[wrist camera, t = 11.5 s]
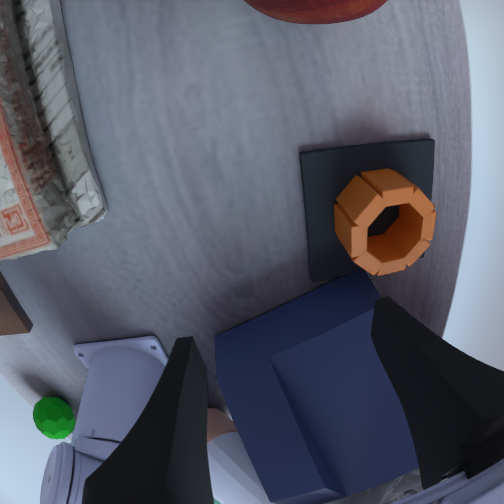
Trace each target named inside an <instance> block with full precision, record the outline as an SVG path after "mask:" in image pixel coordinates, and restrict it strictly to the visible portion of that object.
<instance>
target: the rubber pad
mask: <svg viewBox="0 0 504 504" xmlns="http://www.w3.org/2000/svg"><path fill="white" fill-rule="evenodd" d="M434 148H435V140H433V139H420V140H405V141H393V142H382V143H371V144H362V145H353V146H344V147H336V148H328V149H320V150H313V151H306V152H300V153H299V154H300V163H301V172H302V182H303V191H304V202H305V213H306V224H307V236H308V249H309V262H310V277H311V281H312V282H316V281H321V280H326V279H330V278H335V277H340V276H344V275H349V274H351V273H353V272H355V271H357V270H359V269H361V268H362V267H360V266H359V265H357V264H356V263H354V262H353V261H352V259H351V257H350V256H349V254H348V253H347V251H346V249H345V248H344V246H343V245H342V243H341V241H340V240H339V238H338V237H337V234H336V233H335V220H334V204H337V203H338V202H337V201H336V198H337V197H338V196H339V195H340V193H341V192H342V191H343V190H344V189H345V187H346V186H347V185H348V184H349V183H350V181H351V180H352V179H353V178H354V177H355V175H358V176H359V177H360V178H361V172H365V171H372V170H380V169H388V168H389V169H391V170H392V171H393V170H395V171H396V172H398V173H399V174H401V175H402V176H403V177H405V178H406V179H407V180H409V181H410V182H412V183H413V184H414V185H416V186H417V187H418V188H419V189H420V190H421V191H422V192H423V193H424V194H425V195H426V197H427V198H428V199H429V200H430V201H431V196H432V184H433V170H434ZM399 205H400V204H399ZM399 205H393V206H387V207H385V208H384V210H383V211H382V212H381V213H380V214H379V215H378V216H377V218H376V219H375V220H374V221H373V222H372V223H371V225H370V226H369V227H368V234H367V237H371V236H376V235H381V234H384V233H385V232H386V231H387V230H388V229H389V227H390V226H391V225H392V224H393V223H394V222H395V221H396V219H397V218H398V217H399ZM424 253H425V251H424V252H423V254H422V255H421V256H420V257H419V258H422V257H424ZM364 271H366V270H364Z"/></svg>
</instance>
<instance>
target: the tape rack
mask: <svg viewBox="0 0 504 504" xmlns="http://www.w3.org/2000/svg"><path fill="white" fill-rule="evenodd" d="M32 326H33V324H32V323H31V321H30V320H29V318H28V317H27V315H26V314H25V312H24V311H23V309H22V308H21V306H20V304H19V303H18V301H17V300H16V298H15V296H14V295H13V293H12V291H11V290H10V288H9V286H8V285H7V283H6V281H5V280H4V278H3V276H2V274H1V272H0V336H1V335H12V334H22V333H29V332H30V330H31V328H32Z"/></svg>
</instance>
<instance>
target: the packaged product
mask: <svg viewBox="0 0 504 504" xmlns="http://www.w3.org/2000/svg"><path fill="white" fill-rule="evenodd" d="M108 210H109V208H108V205H107V203H106V200H105V197H104V194H103V191H102V188H101V185H100V183H99V180H98V177H97V174H96V171H95V168H94V164H93V160H92V156H91V152H90V148H89V144H88V140H87V135H86V131H85V126H84V122H83V117H82V112H81V108H80V103H79V98H78V92H77V87H76V81H75V75H74V69H73V64H72V60H71V56H70V52H69V47H68V43H67V38H66V33H65V29H64V23H63V18H62V12H61V6H60V0H0V261H2V260H5V259H10V260H15V259H17V258H19V257H22V256H26V255H30V254H37V253H38V252H40V251H46V250H57V249H58V248H59V247H60V246H61V244H62V242H64V241H66V240H67V239H66V235H67V234H69V233H70V232H71V231H72V230H73V229H74V228H78V227H81V226H85V225H89V224H94V223H96V222H98V221H100V220H101V219H103V218H104V216H105V215H106V213H107V212H108Z"/></svg>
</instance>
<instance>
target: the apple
mask: <svg viewBox="0 0 504 504" xmlns="http://www.w3.org/2000/svg"><path fill="white" fill-rule="evenodd" d="M244 1H245V2H246V3H248V4H249V5H250V6H251V7H253V8H254V9H256V10H258V11H259V12H261V13H263V14H265V15H267V16H270V17H272V18H275V19H278V20H282V21H286V22H291V23H298V24H332V23H340V22H345V21H350V20H354V19H358V18H361V17H364V16H366V15H368V14H370V13H372V12H374V11H375V10H377V9H378V8H380V7H381V6H382V5H383V4H384V3H385V2H386V1H387V0H244Z"/></svg>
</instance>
